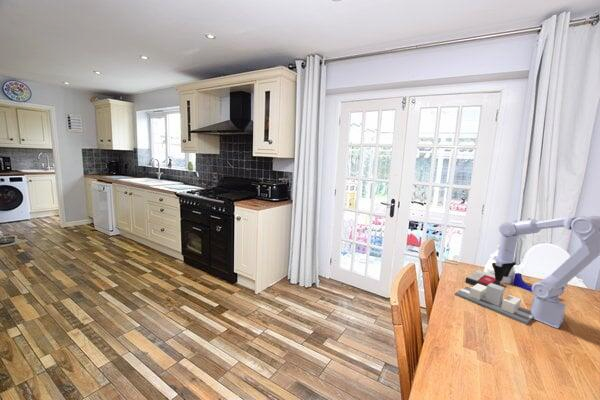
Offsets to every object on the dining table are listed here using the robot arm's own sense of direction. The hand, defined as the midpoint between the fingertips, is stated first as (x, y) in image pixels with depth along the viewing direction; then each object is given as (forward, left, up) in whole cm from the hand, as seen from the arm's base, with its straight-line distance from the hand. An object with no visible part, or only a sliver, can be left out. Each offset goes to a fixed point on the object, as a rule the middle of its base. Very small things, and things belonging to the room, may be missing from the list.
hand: (501, 278), depth 120 cm
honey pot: (+8, -26, -10) cm, 29 cm away
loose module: (-1, +9, -8) cm, 12 cm away
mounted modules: (-1, +9, -8) cm, 12 cm away
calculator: (+10, -11, -10) cm, 18 cm away
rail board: (-1, +9, -9) cm, 13 cm away
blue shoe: (-6, -24, -10) cm, 27 cm away
